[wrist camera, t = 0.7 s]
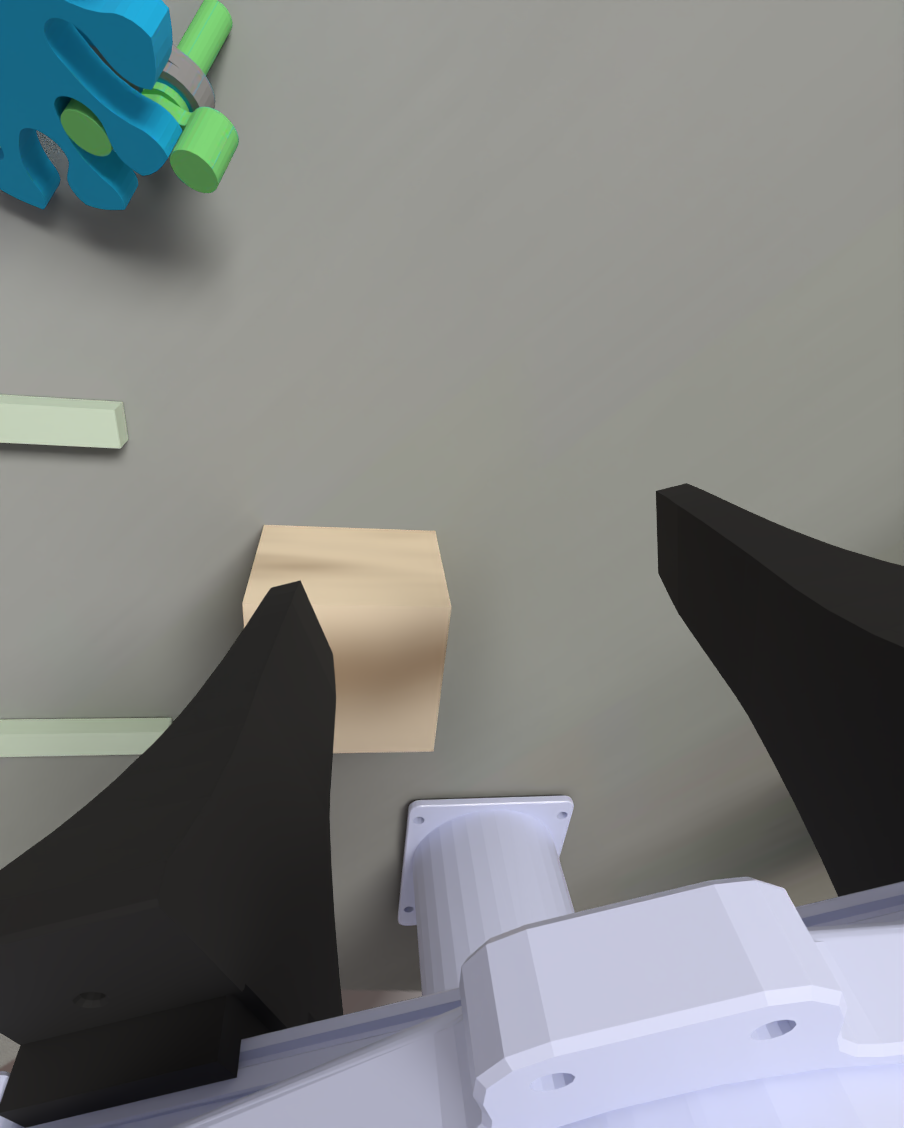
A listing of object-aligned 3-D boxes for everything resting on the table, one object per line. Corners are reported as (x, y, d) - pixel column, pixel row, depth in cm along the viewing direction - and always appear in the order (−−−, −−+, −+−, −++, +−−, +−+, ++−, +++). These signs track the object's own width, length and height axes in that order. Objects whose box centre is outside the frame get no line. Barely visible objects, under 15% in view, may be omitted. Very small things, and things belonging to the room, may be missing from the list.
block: (421, 659, 27) (433, 751, 22) (270, 658, 26) (252, 754, 21) (434, 529, 24) (451, 606, 19) (264, 523, 23) (242, 603, 18)
